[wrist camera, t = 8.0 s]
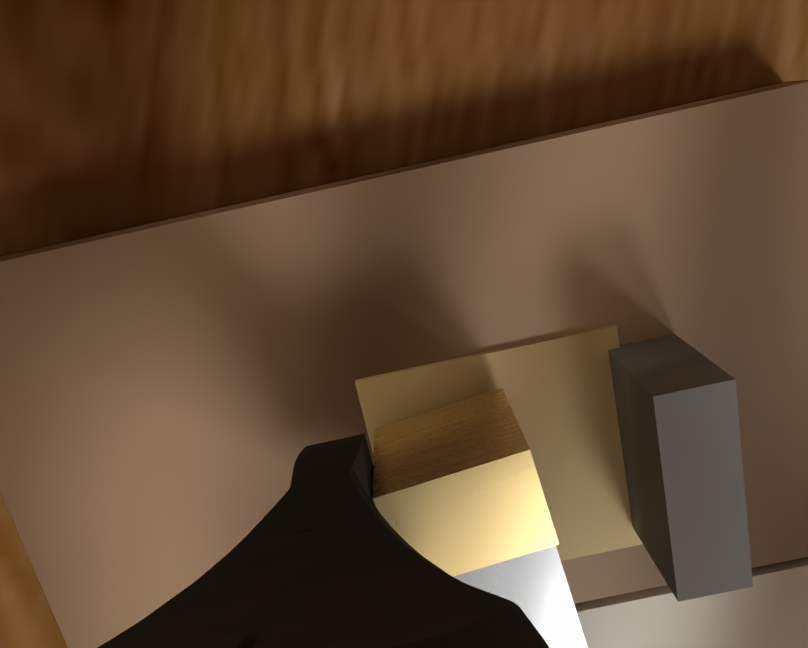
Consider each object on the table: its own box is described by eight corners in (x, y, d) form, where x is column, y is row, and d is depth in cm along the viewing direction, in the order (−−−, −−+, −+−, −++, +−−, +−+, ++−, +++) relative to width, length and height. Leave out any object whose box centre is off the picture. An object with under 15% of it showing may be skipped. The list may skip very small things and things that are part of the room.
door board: (784, 82, 12) (922, 70, 9) (825, 814, 17) (924, 968, 14) (-54, 268, 13) (-194, 318, 10) (219, 929, 17) (184, 1104, 14)
